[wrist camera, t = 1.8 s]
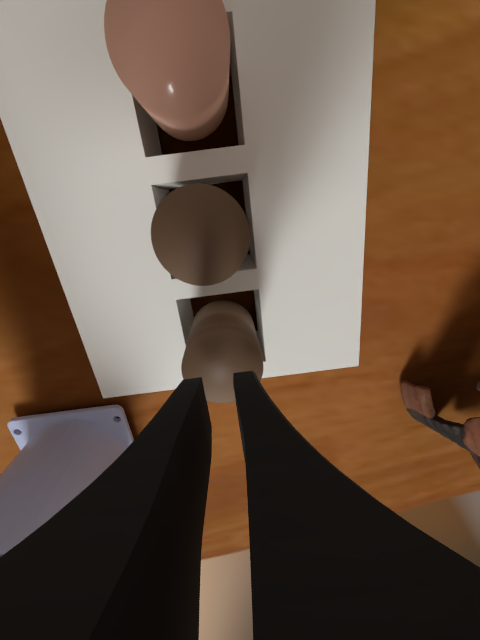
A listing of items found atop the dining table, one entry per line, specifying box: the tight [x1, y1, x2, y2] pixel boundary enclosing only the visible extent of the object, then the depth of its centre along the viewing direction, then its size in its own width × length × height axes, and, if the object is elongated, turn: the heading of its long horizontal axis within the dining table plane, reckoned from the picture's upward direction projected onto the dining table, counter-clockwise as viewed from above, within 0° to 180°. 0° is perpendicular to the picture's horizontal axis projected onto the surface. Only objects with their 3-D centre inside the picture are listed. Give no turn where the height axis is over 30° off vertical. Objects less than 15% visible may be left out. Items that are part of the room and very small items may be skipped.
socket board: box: [0, 0, 376, 398], centre depth 14 cm, size 16×14×4 cm
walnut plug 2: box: [181, 300, 263, 403], centre depth 13 cm, size 3×3×4 cm
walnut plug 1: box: [151, 183, 250, 286], centre depth 11 cm, size 3×3×4 cm
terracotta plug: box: [104, 0, 230, 141], centre depth 9 cm, size 3×3×4 cm
